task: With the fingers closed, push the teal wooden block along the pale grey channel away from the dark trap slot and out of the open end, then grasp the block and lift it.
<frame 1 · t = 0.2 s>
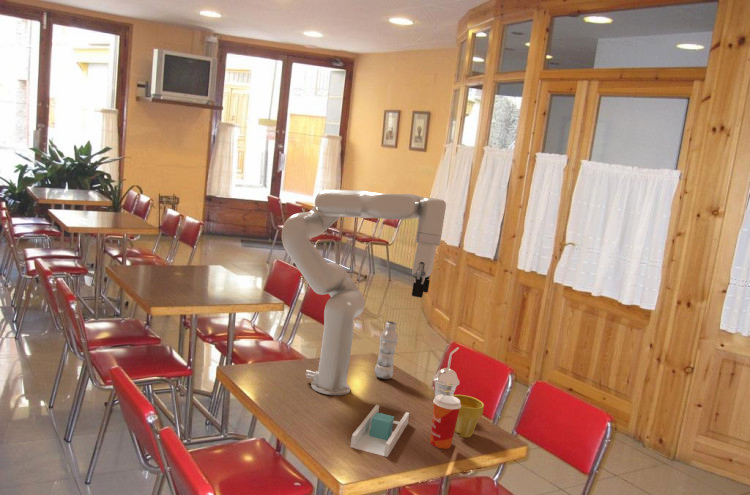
hand: (419, 294, 200), 36 cm above the table, tool pointing down, fingers open, 9 cm apart
plant pot: (460, 433, 191), on the table
trap channel: (379, 438, 178), on the table
plastic bottle: (382, 378, 229), on the table
teal block: (380, 434, 178), point 1 cm above the table, touching trap channel
paper cup: (439, 448, 178), on the table
cup with straw: (441, 411, 206), on the table
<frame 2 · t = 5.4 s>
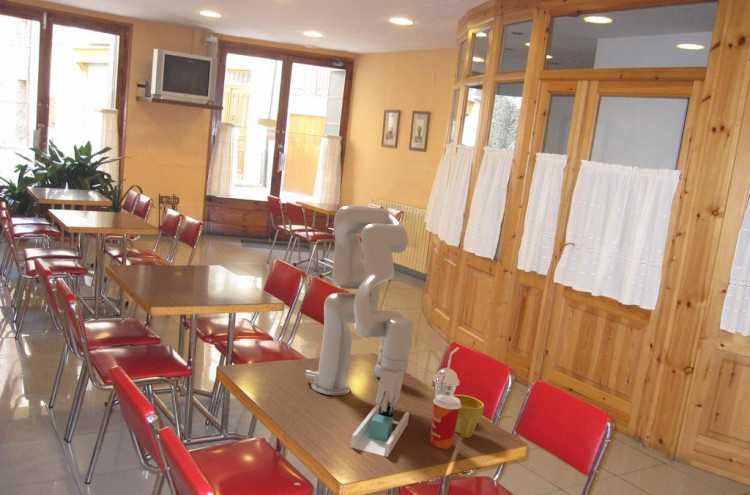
hand: (384, 426, 182), 2 cm above the table, tool pointing down, fingers closed
teal block: (379, 436, 177), point 1 cm above the table, touching gripper
everything else where it was.
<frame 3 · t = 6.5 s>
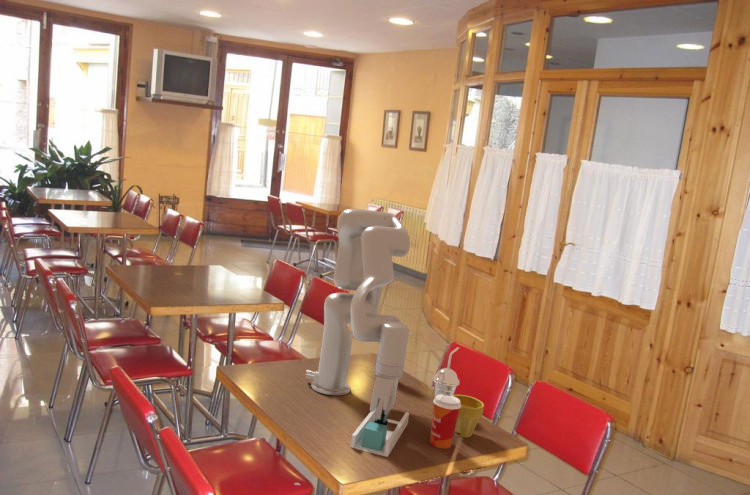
hand: (379, 434, 176), 2 cm above the table, tool pointing down, fingers closed
teal block: (373, 445, 171), point 1 cm above the table, touching gripper
everything else where it was.
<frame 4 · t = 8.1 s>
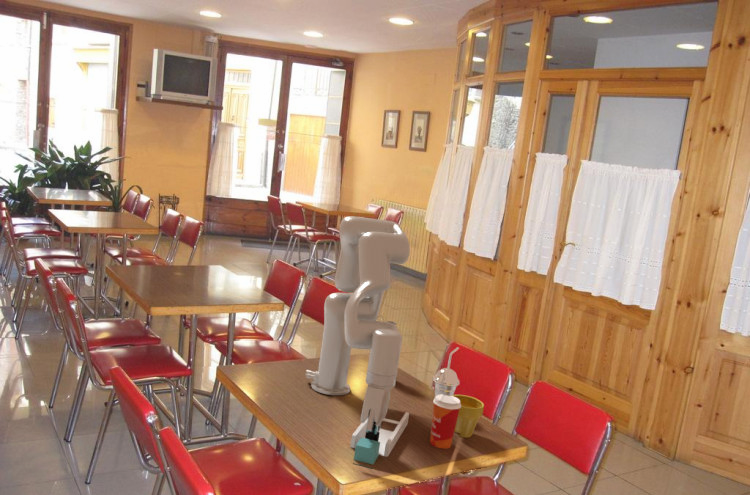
hand: (370, 446, 167), 2 cm above the table, tool pointing down, fingers closed
teal block: (369, 449, 165), point 2 cm above the table, tilted 90°, touching gripper
everything else where it was.
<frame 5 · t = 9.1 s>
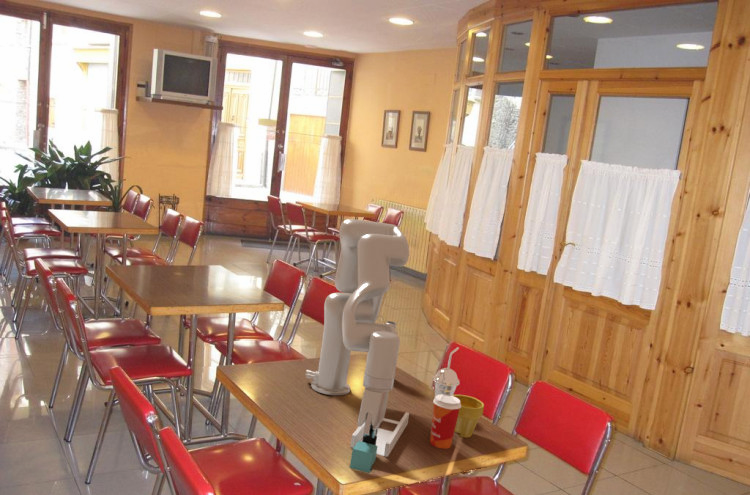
hand: (368, 450, 165), 2 cm above the table, tool pointing down, fingers closed
teal block: (366, 452, 163), point 2 cm above the table, tilted 90°, touching gripper
everything else where it was.
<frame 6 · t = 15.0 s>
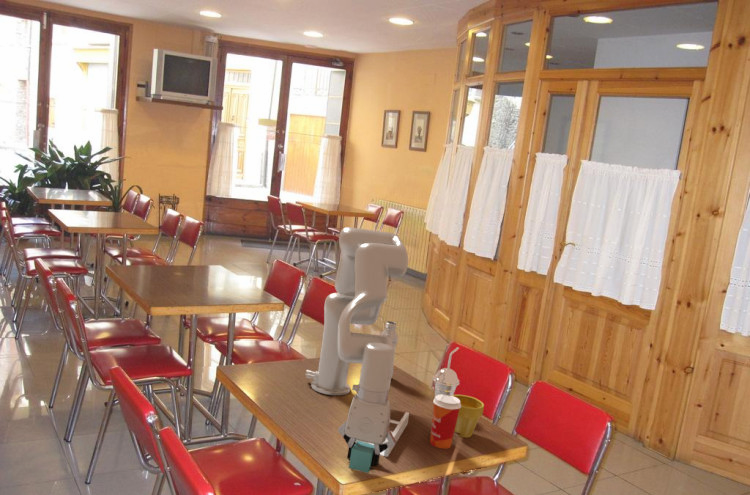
hand: (362, 463, 161), 0 cm above the table, tool pointing down, fingers closed on teal block, 5 cm apart
teal block: (365, 452, 163), point 2 cm above the table, tilted 90°, touching gripper
everything else where it was.
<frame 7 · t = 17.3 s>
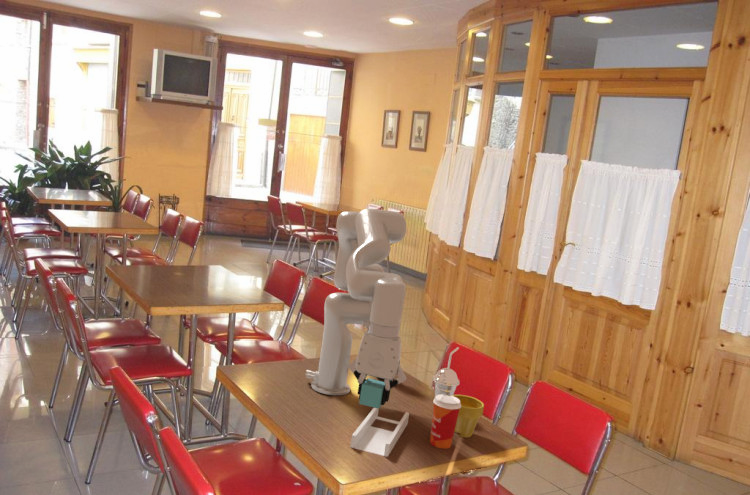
hand: (372, 399, 161), 16 cm above the table, tool pointing down, fingers closed on teal block, 5 cm apart
teal block: (375, 389, 163), point 18 cm above the table, tilted 91°, touching gripper
everything else where it was.
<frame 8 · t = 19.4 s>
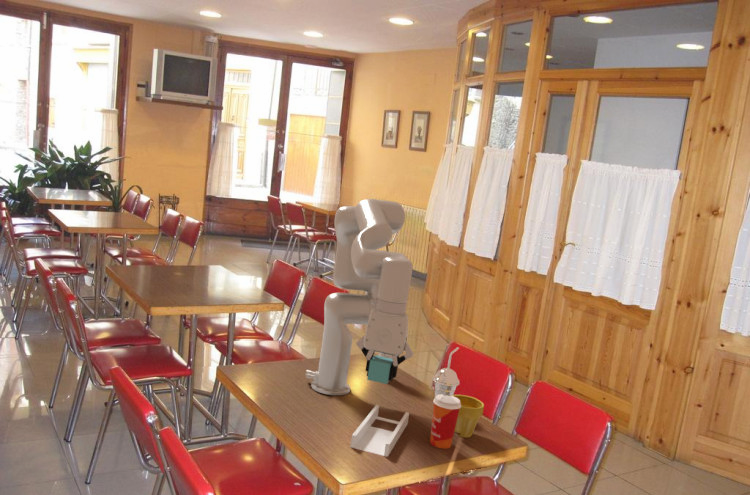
hand: (380, 376, 164), 21 cm above the table, tool pointing down, fingers closed on teal block, 5 cm apart
teal block: (383, 366, 166), point 23 cm above the table, tilted 90°, touching gripper
everything else where it was.
at the end: teal block inside the target area (3.4 cm from its centre), point 23.3 cm above the table; the gripper is holding teal block; teal block moved 24.2 cm from its start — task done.
